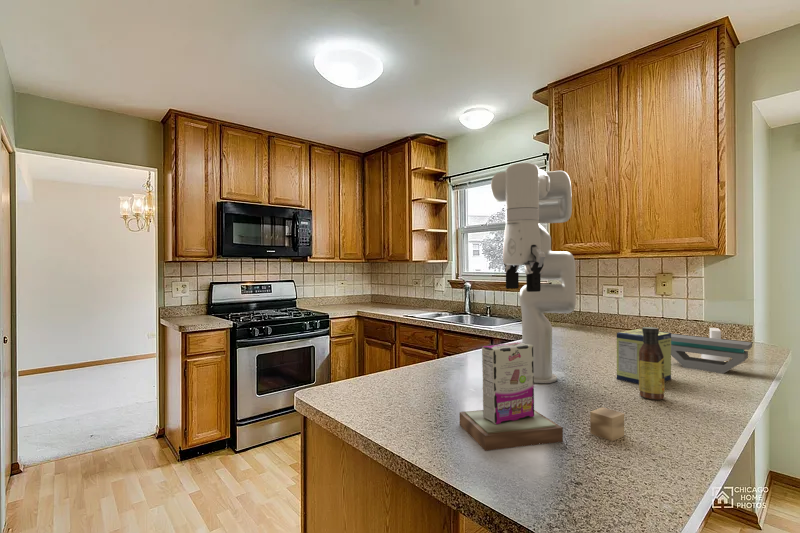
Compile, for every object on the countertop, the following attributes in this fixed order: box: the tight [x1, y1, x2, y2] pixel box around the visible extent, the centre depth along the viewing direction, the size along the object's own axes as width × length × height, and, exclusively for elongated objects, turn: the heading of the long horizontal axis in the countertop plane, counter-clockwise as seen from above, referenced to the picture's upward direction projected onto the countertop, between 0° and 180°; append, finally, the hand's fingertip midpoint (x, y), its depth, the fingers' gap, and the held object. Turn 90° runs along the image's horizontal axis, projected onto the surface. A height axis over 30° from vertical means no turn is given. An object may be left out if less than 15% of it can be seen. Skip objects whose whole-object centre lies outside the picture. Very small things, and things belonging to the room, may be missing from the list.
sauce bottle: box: [638, 326, 666, 401], centre depth 117 cm, size 6×6×20 cm
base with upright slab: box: [700, 327, 730, 361], centre depth 164 cm, size 9×9×12 cm
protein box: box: [616, 328, 672, 385], centre depth 136 cm, size 10×16×16 cm
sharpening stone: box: [671, 333, 753, 374], centre depth 149 cm, size 25×8×11 cm, turn 42°
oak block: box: [589, 406, 625, 442], centre depth 91 cm, size 5×5×5 cm
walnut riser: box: [459, 409, 564, 452], centre depth 92 cm, size 14×18×3 cm
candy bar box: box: [481, 341, 535, 424], centre depth 93 cm, size 11×5×16 cm, turn 115°
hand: (522, 289), depth 97 cm, fingers open, 9 cm apart
